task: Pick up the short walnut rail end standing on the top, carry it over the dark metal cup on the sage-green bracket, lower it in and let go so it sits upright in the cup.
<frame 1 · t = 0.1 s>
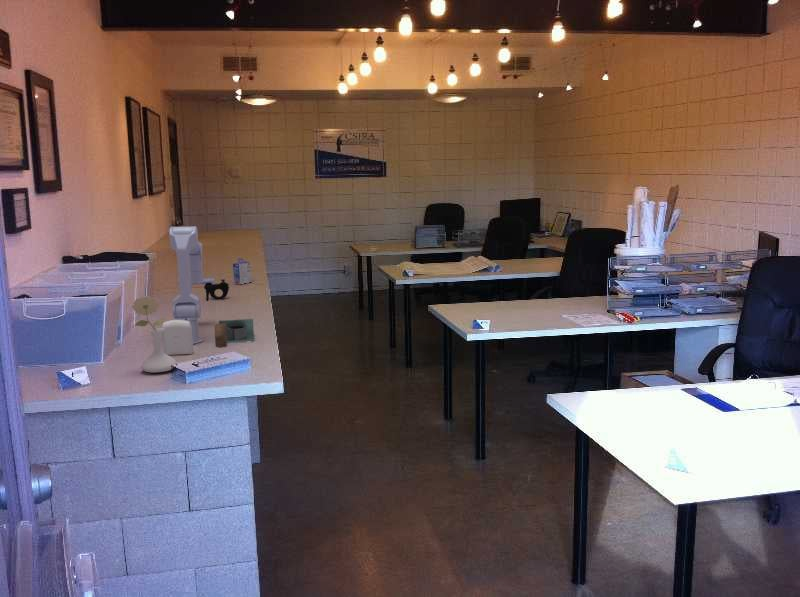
hand: (198, 300, 307), 11 cm above the table, tool pointing down, fingers open, 7 cm apart
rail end: (221, 345, 272), on the table
controller: (217, 299, 370), on the table
photo printer: (178, 354, 261), on the table
ink cartridge box: (243, 283, 420), on the table
cup bracket: (237, 340, 281), on the table
flower in vase: (157, 371, 240), on the table
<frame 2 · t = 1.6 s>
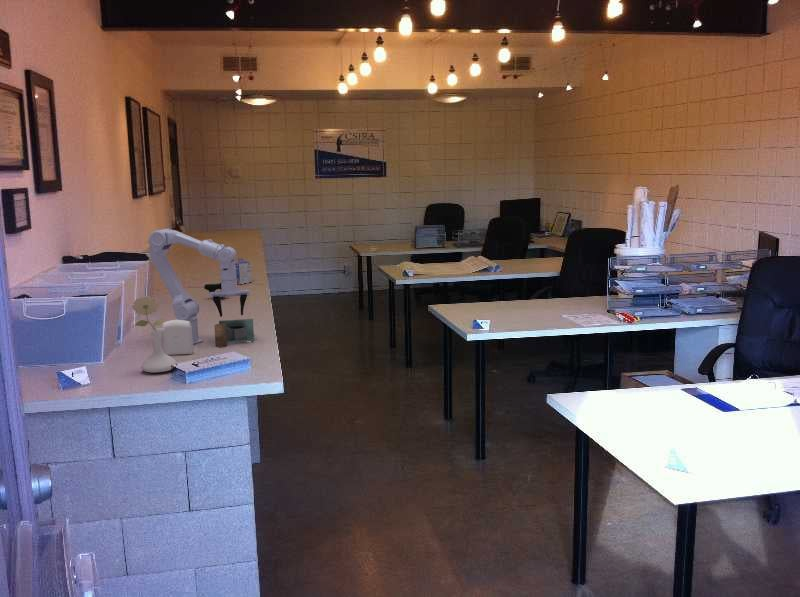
hand: (231, 315, 274), 11 cm above the table, tool pointing down, fingers open, 7 cm apart
nothing on the table moved.
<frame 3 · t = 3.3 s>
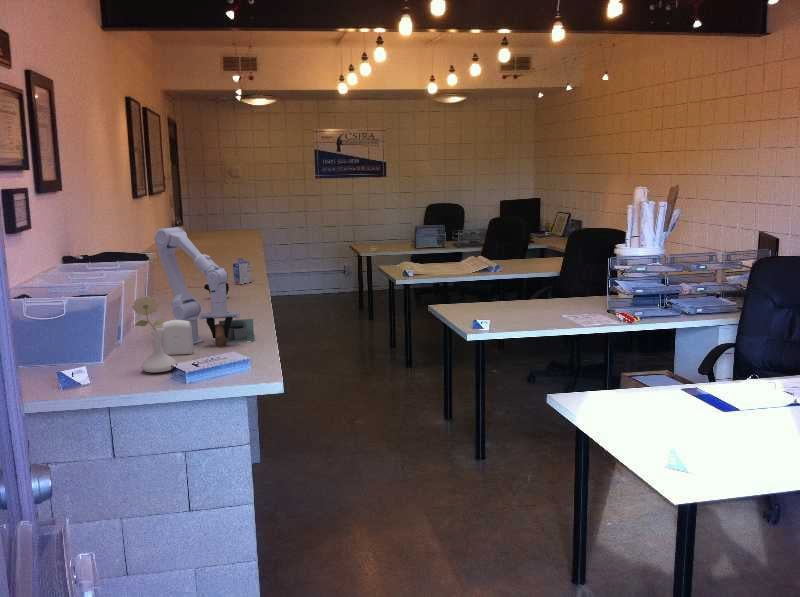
hand: (220, 337, 272), 3 cm above the table, tool pointing down, fingers closed on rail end, 4 cm apart
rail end: (221, 345, 272), on the table, touching gripper
everything else where it was.
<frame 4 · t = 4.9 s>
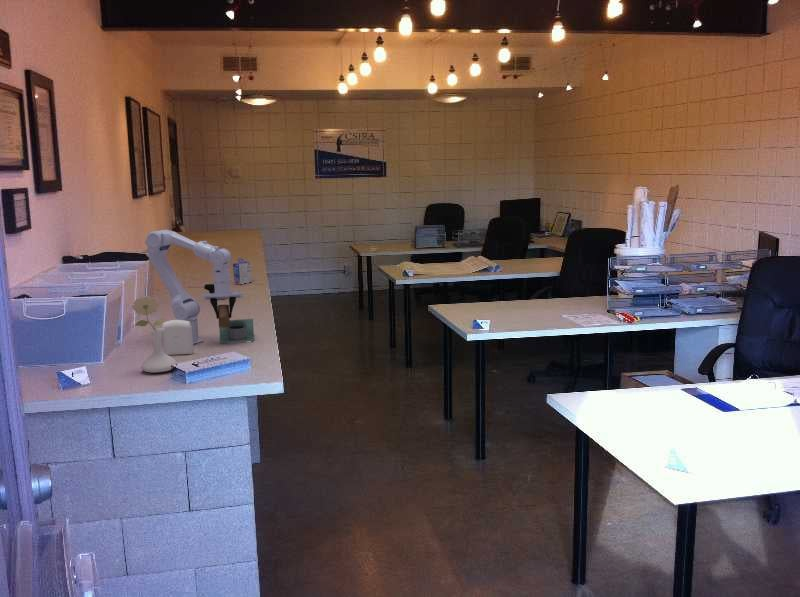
hand: (224, 317, 273), 10 cm above the table, tool pointing down, fingers closed on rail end, 4 cm apart
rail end: (224, 326, 273), point 7 cm above the table, touching gripper
everything else where it was.
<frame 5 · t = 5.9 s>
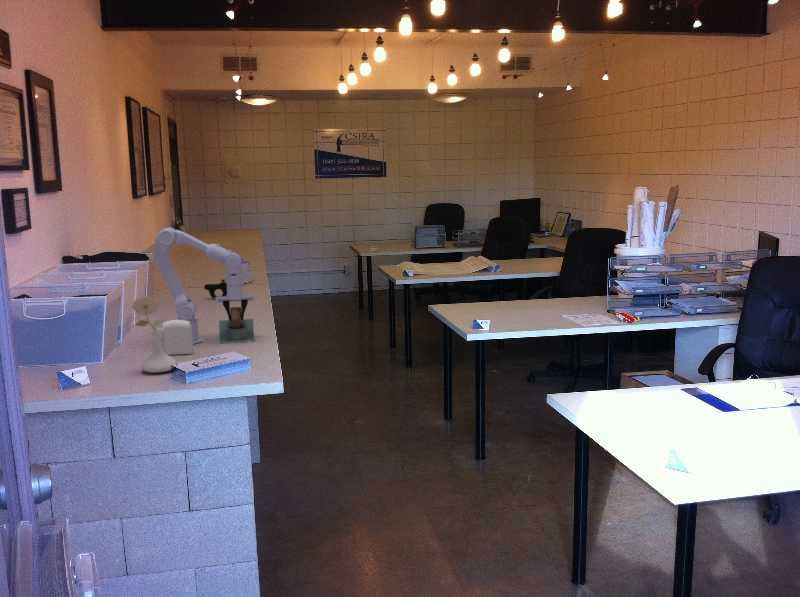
hand: (236, 319, 280), 8 cm above the table, tool pointing down, fingers closed on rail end, 4 cm apart
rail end: (236, 328, 280), point 5 cm above the table, touching gripper
everything else where it was.
when the fingers open (6 cm above the table, at t = 6.8 s): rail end stays where it is, resting on cup bracket.
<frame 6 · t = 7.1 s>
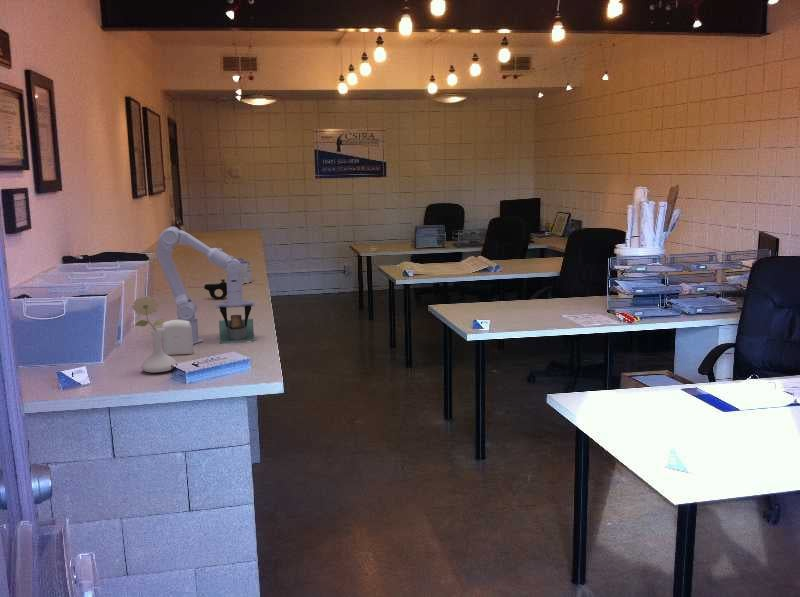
hand: (236, 325, 280), 6 cm above the table, tool pointing down, fingers open, 6 cm apart
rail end: (237, 336, 281), point 2 cm above the table, touching cup bracket
everything else where it was.
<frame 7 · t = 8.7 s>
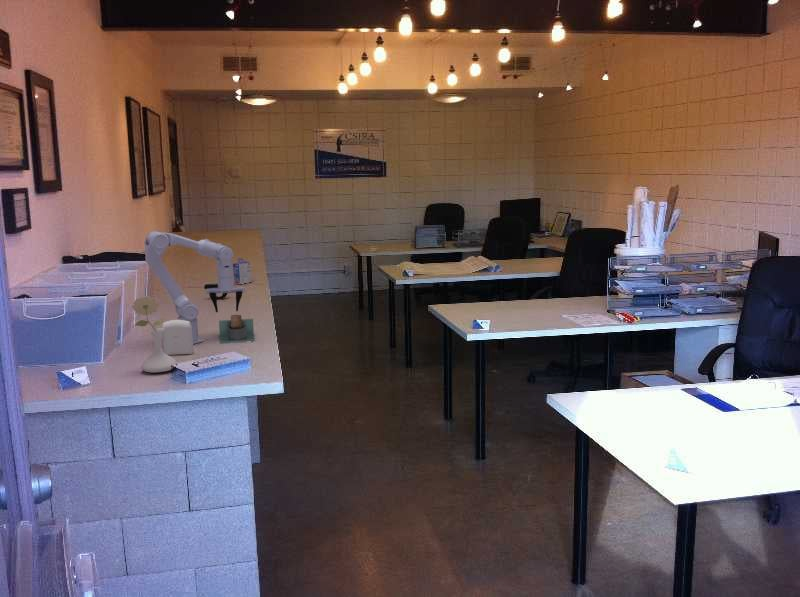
hand: (227, 311, 284), 10 cm above the table, tool pointing down, fingers open, 7 cm apart
nothing on the table moved.
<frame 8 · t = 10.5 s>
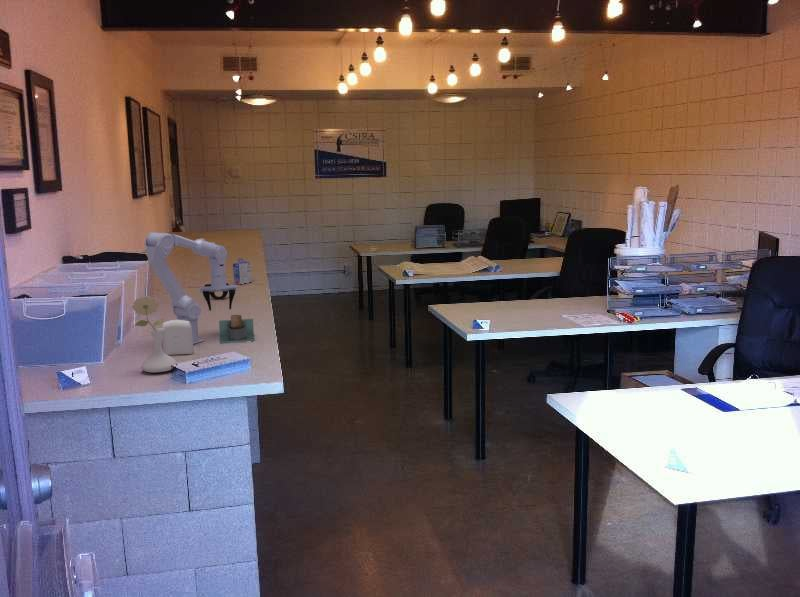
hand: (220, 309, 288), 10 cm above the table, tool pointing down, fingers open, 7 cm apart
nothing on the table moved.
at the end: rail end 0.3 cm off-centre on the cup bracket, point 1.6 cm above the cup bracket's base; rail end tilted 0°; the gripper is holding nothing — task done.
